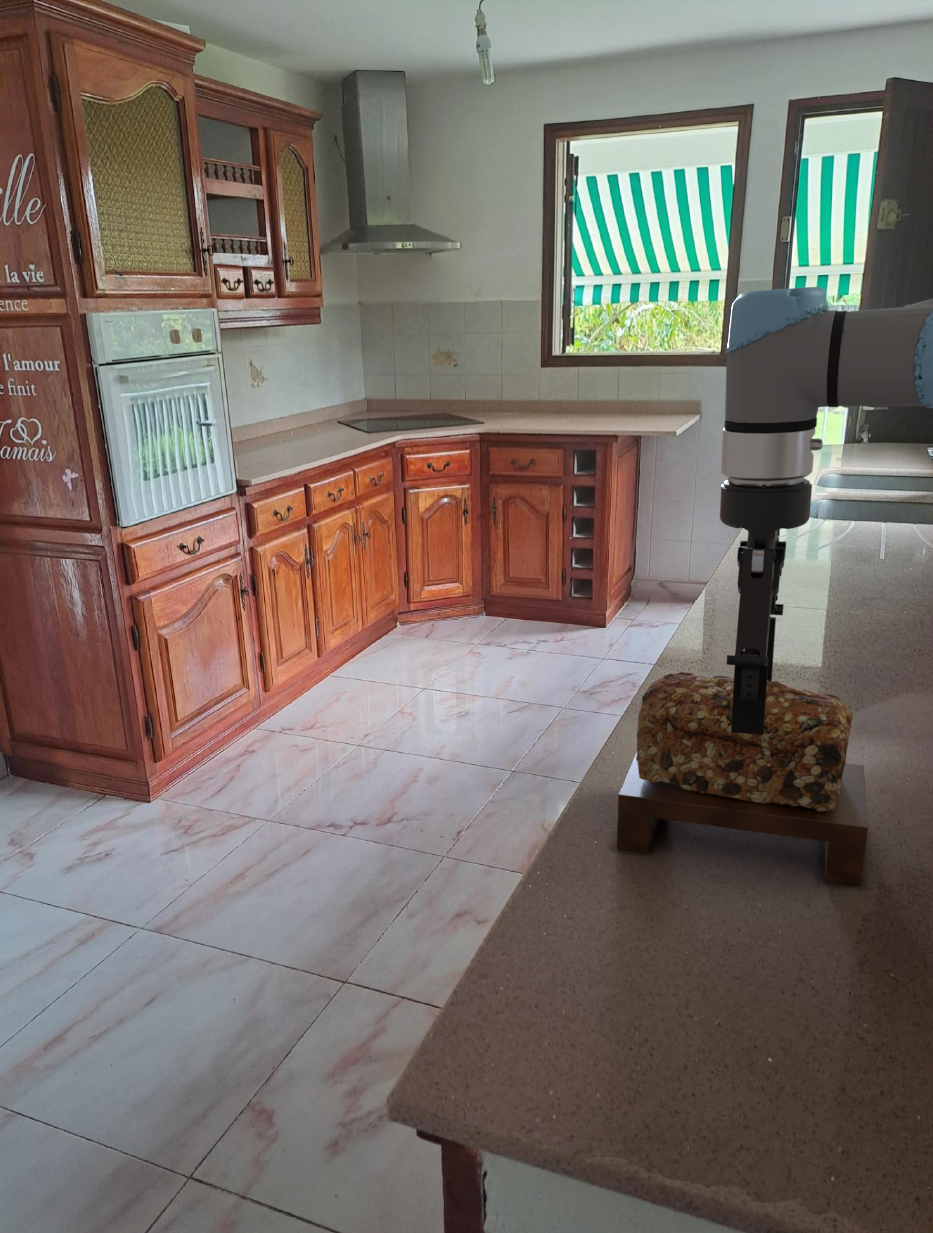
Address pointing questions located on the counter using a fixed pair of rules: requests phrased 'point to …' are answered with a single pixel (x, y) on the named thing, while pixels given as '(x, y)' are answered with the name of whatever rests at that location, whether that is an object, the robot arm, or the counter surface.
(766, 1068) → the counter surface
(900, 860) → the counter surface
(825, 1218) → the counter surface
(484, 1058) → the counter surface
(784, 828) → the shelf
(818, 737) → the bread
